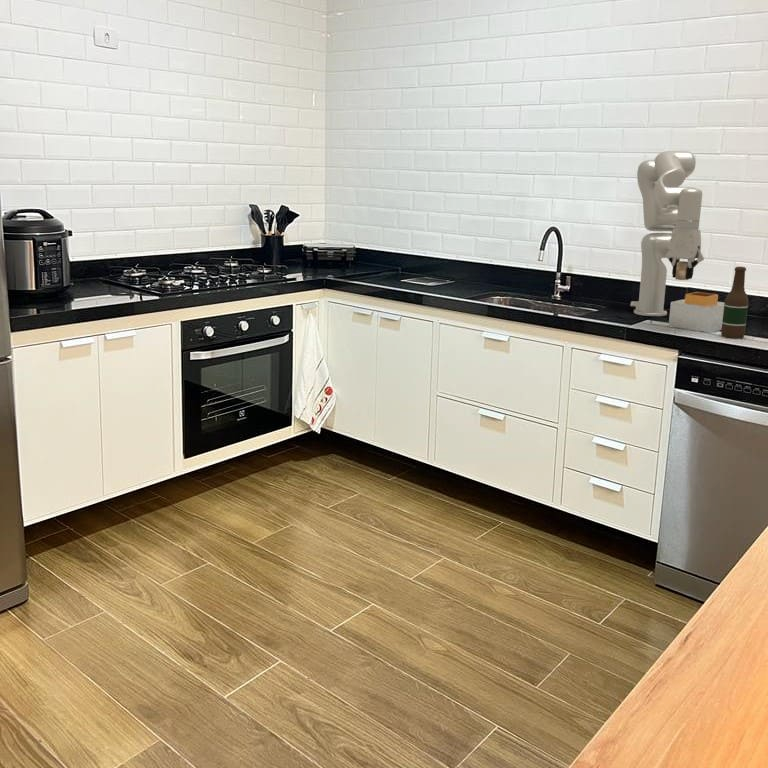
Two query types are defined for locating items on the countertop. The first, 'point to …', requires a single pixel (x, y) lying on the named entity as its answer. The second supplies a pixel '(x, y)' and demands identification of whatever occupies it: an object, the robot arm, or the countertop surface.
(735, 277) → the beer bottle
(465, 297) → the countertop surface
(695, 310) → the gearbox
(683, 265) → the bead
